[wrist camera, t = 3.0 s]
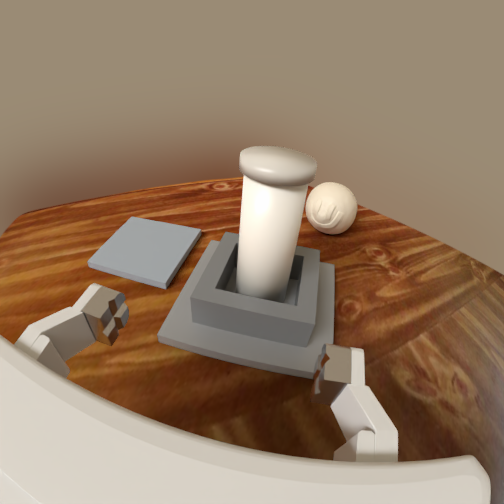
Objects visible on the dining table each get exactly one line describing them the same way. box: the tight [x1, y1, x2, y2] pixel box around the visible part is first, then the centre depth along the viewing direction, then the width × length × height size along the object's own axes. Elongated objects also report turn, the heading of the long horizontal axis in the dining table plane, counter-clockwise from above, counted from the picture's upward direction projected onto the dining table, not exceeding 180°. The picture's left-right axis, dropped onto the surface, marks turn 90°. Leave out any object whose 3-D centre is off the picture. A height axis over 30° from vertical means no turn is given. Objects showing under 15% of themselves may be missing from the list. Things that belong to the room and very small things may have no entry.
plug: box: [235, 146, 317, 303], centre depth 23 cm, size 5×5×13 cm
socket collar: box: [157, 232, 334, 379], centre depth 26 cm, size 14×14×4 cm
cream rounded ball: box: [306, 182, 357, 234], centre depth 37 cm, size 7×7×7 cm
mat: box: [87, 217, 201, 289], centre depth 32 cm, size 10×10×1 cm
